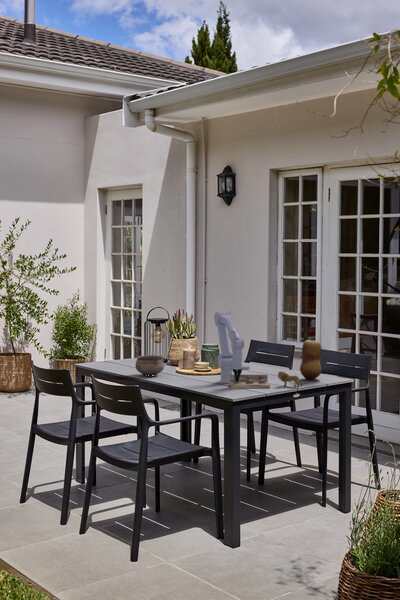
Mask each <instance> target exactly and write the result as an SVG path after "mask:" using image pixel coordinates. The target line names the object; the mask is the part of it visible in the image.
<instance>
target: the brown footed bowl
mask: <svg viewBox="0 0 400 600" xmlns="http://www.w3.org/2000/svg"><path fill="white" fill-rule="evenodd" d="M163 358H164V355H163V356H162V355H154V354H153V355H152V354H149V355H147V354H146V355H138V356H136V362H135V369H136V370H137V372H138V373H140V374H142V375H143V376H145V375H147V376H146V377H153V376H152V375H155V376H157V375H159V374H160V373H162V372H163V370H164V368H165V362H164V359H163ZM148 375H149V376H148Z"/></svg>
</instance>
